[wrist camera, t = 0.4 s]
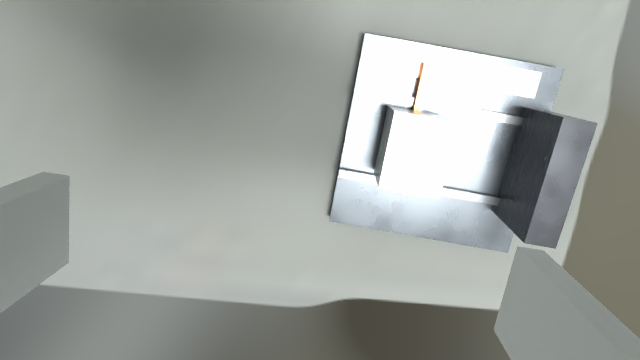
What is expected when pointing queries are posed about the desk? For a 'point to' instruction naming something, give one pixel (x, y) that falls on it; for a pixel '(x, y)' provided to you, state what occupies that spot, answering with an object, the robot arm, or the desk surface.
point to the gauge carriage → (415, 147)
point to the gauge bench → (465, 147)
